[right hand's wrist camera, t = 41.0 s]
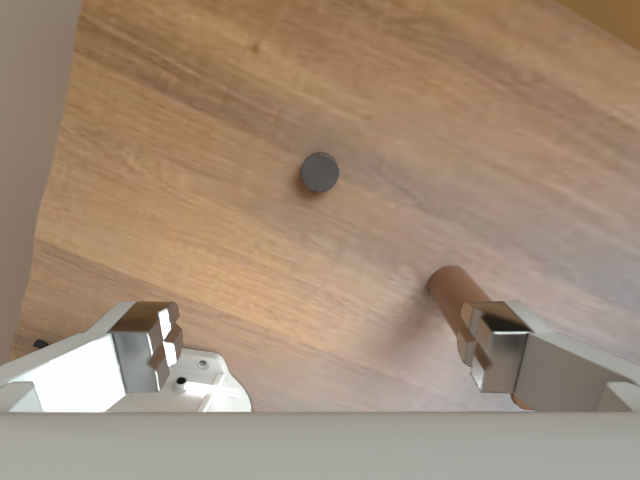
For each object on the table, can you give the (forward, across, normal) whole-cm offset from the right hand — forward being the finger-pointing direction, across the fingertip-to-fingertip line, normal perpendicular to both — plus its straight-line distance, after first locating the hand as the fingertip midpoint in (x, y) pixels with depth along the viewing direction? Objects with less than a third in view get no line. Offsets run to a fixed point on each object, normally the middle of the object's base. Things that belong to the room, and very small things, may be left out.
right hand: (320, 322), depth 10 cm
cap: (+27, 0, 0) cm, 27 cm away
